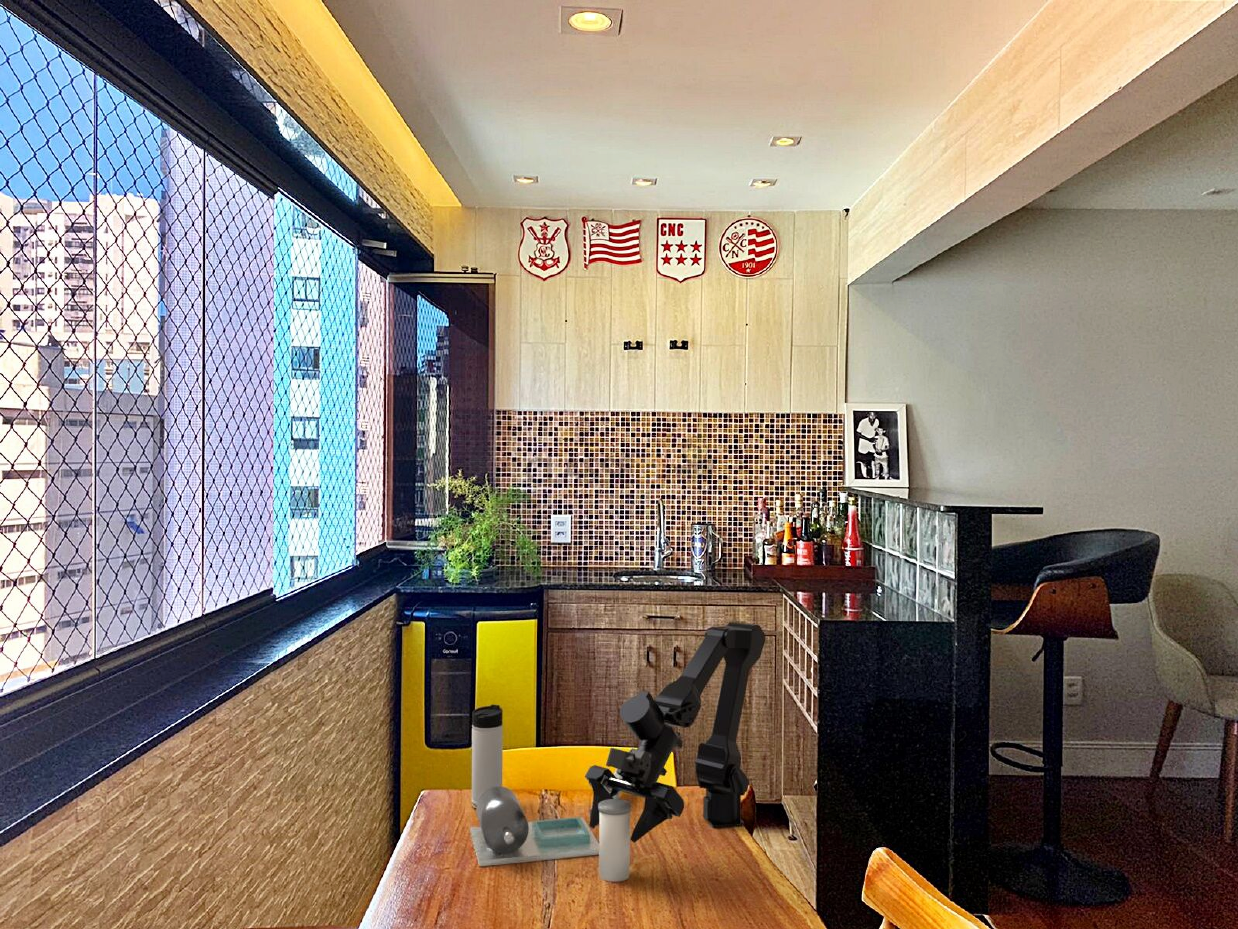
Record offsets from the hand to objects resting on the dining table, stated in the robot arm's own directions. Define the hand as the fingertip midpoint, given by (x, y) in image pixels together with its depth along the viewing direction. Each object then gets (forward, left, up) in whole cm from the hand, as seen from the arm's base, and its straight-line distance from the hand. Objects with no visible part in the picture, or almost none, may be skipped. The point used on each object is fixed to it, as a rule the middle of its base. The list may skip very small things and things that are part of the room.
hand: (611, 834), depth 161 cm
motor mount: (+10, -17, -7) cm, 21 cm away
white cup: (-1, -1, -7) cm, 7 cm away
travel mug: (+16, -40, -7) cm, 43 cm away
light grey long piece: (-10, -35, -8) cm, 37 cm away
